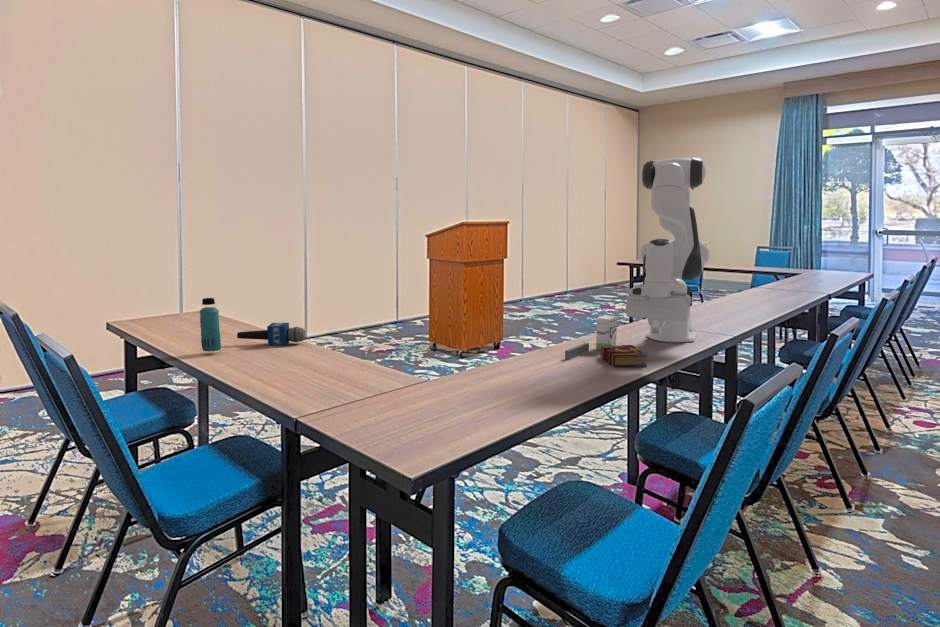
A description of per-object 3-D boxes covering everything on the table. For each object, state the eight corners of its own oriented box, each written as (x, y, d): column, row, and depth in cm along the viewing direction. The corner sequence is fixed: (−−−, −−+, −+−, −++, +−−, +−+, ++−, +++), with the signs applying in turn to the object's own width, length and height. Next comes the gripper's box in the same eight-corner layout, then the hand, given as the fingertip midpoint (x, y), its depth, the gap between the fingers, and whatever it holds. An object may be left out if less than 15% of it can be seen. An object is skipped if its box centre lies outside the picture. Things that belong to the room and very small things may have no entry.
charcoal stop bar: (584, 350, 228) (585, 342, 227) (588, 351, 227) (589, 343, 226) (565, 359, 215) (565, 350, 214) (568, 359, 214) (569, 351, 213)
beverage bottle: (218, 351, 228) (215, 296, 224) (224, 354, 222) (220, 298, 219) (199, 353, 224) (195, 297, 220) (204, 356, 218) (201, 299, 215)
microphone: (240, 323, 241) (306, 322, 242) (241, 342, 242) (307, 342, 244) (234, 326, 233) (302, 326, 235) (235, 347, 234) (303, 346, 236)
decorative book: (612, 368, 203) (613, 353, 202) (599, 357, 219) (599, 343, 218) (647, 367, 204) (647, 352, 203) (631, 356, 219) (631, 342, 219)
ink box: (608, 351, 227) (609, 319, 225) (595, 349, 230) (596, 317, 228) (616, 347, 234) (617, 315, 232) (603, 345, 237) (604, 314, 235)
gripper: (694, 291, 197) (691, 335, 199) (631, 287, 209) (629, 328, 211) (688, 293, 192) (685, 337, 194) (624, 289, 204) (622, 331, 206)
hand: (656, 333), depth 203 cm, fingers closed
